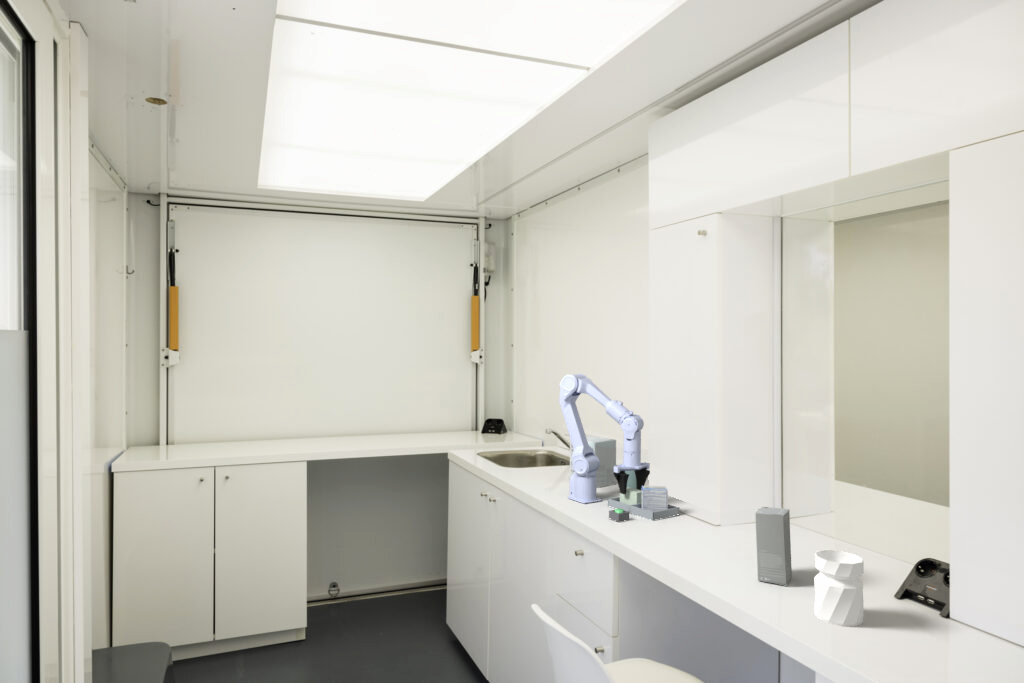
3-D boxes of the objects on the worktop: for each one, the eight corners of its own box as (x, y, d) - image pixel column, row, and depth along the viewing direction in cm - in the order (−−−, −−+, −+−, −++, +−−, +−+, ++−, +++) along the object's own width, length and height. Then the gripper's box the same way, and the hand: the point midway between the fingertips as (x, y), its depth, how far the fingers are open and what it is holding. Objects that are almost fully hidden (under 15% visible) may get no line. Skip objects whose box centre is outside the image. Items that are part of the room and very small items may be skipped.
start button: (613, 518, 197) (613, 509, 197) (619, 517, 199) (619, 508, 199) (618, 520, 195) (618, 511, 195) (625, 519, 197) (625, 510, 197)
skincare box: (787, 587, 142) (787, 516, 142) (753, 580, 146) (753, 511, 146) (793, 576, 149) (793, 508, 149) (760, 570, 153) (761, 504, 153)
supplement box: (590, 478, 258) (591, 435, 259) (616, 484, 249) (617, 439, 249) (568, 483, 249) (569, 438, 250) (594, 489, 240) (595, 442, 240)
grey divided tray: (607, 506, 213) (607, 498, 213) (633, 501, 220) (633, 494, 220) (652, 520, 196) (652, 512, 196) (679, 515, 203) (679, 507, 203)
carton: (619, 506, 214) (619, 488, 214) (628, 504, 216) (628, 486, 216) (636, 511, 208) (636, 492, 208) (645, 509, 210) (645, 491, 210)
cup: (644, 493, 233) (644, 466, 233) (636, 497, 226) (636, 469, 226) (624, 490, 237) (624, 464, 237) (616, 494, 230) (616, 467, 230)
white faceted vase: (827, 626, 122) (827, 563, 122) (806, 608, 131) (806, 549, 131) (872, 627, 122) (873, 564, 122) (848, 608, 131) (848, 549, 131)
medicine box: (665, 513, 205) (666, 486, 206) (667, 516, 201) (668, 489, 201) (641, 512, 206) (641, 485, 206) (642, 515, 202) (642, 488, 202)
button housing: (608, 518, 198) (609, 510, 198) (619, 516, 200) (619, 508, 200) (618, 522, 194) (618, 513, 194) (629, 520, 196) (629, 512, 196)
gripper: (624, 455, 205) (623, 497, 205) (656, 451, 213) (655, 492, 213) (609, 451, 211) (608, 492, 211) (641, 448, 219) (640, 488, 219)
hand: (631, 492), depth 212 cm, fingers open, 7 cm apart
